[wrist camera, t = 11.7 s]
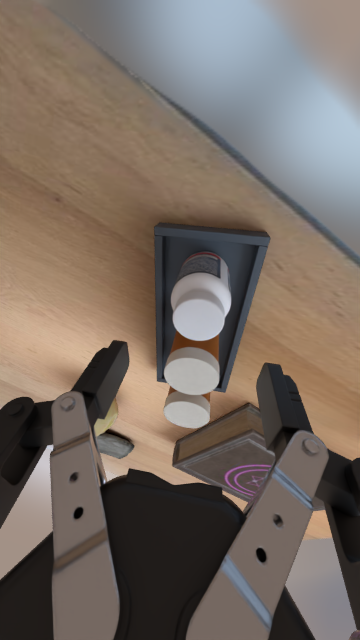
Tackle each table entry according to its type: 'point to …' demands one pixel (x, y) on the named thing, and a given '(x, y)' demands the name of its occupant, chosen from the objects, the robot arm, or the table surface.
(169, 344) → the tray
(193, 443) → the book
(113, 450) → the stone
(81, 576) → the robot arm
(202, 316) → the pill bottle
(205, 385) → the amber bottle middle
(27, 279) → the table surface
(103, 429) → the fruit
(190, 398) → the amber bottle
